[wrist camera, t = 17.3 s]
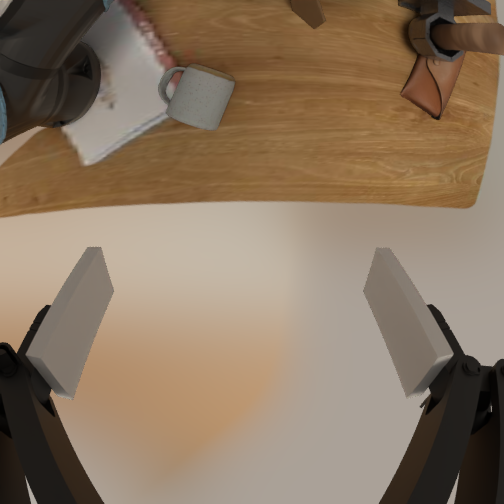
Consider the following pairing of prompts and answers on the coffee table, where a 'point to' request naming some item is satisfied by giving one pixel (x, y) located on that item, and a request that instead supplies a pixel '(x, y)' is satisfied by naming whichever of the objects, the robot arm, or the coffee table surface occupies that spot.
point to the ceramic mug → (198, 95)
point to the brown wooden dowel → (469, 37)
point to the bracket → (435, 13)
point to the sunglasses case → (432, 84)
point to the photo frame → (309, 11)
